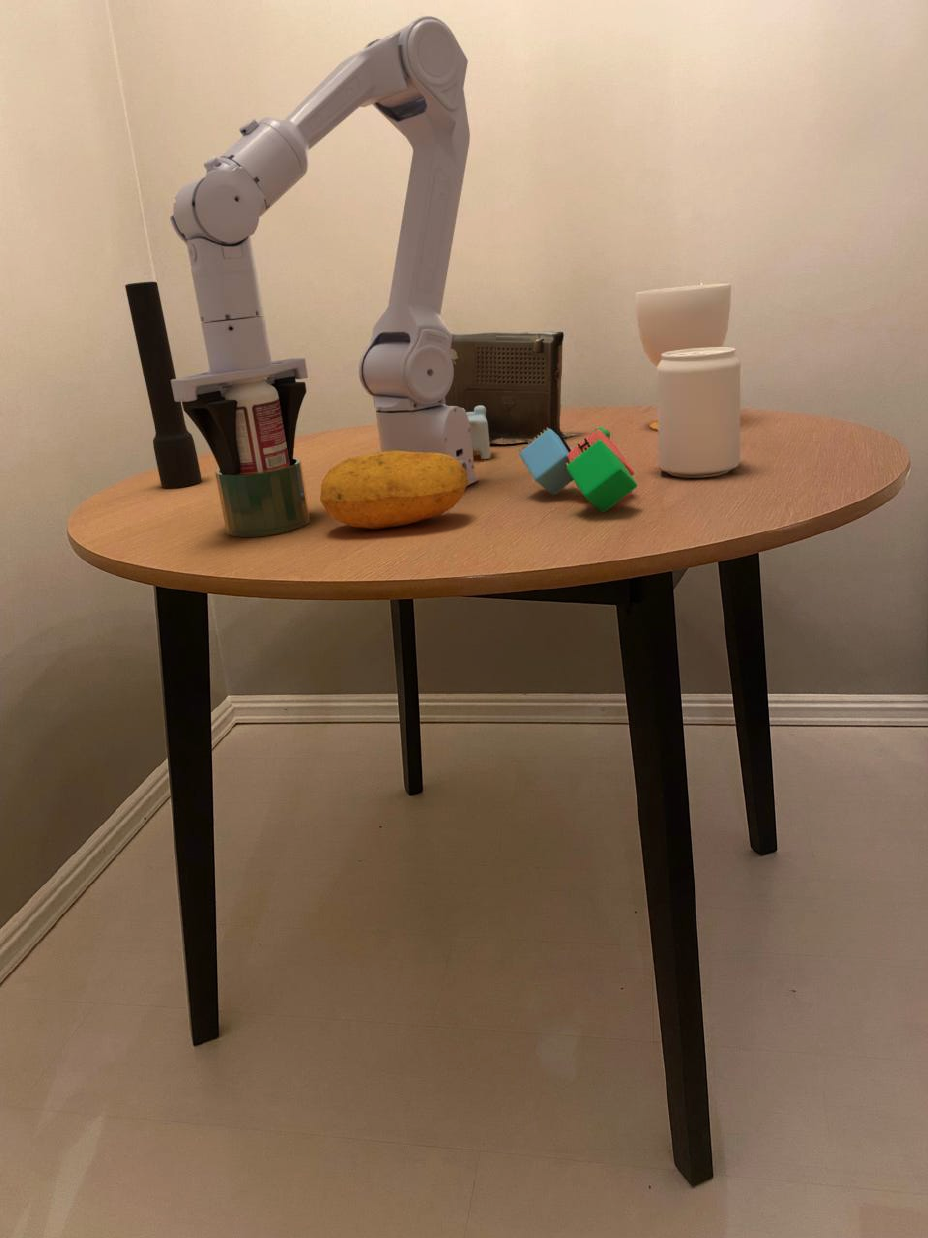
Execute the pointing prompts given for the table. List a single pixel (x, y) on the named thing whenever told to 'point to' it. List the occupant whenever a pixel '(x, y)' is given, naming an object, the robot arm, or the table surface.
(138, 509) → the table surface
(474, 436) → the figurine
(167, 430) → the flashlight
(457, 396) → the radio
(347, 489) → the potato
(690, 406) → the beverage can
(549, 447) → the building blocks
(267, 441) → the pill bottle
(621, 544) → the table surface
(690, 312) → the cup
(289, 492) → the green round pot
